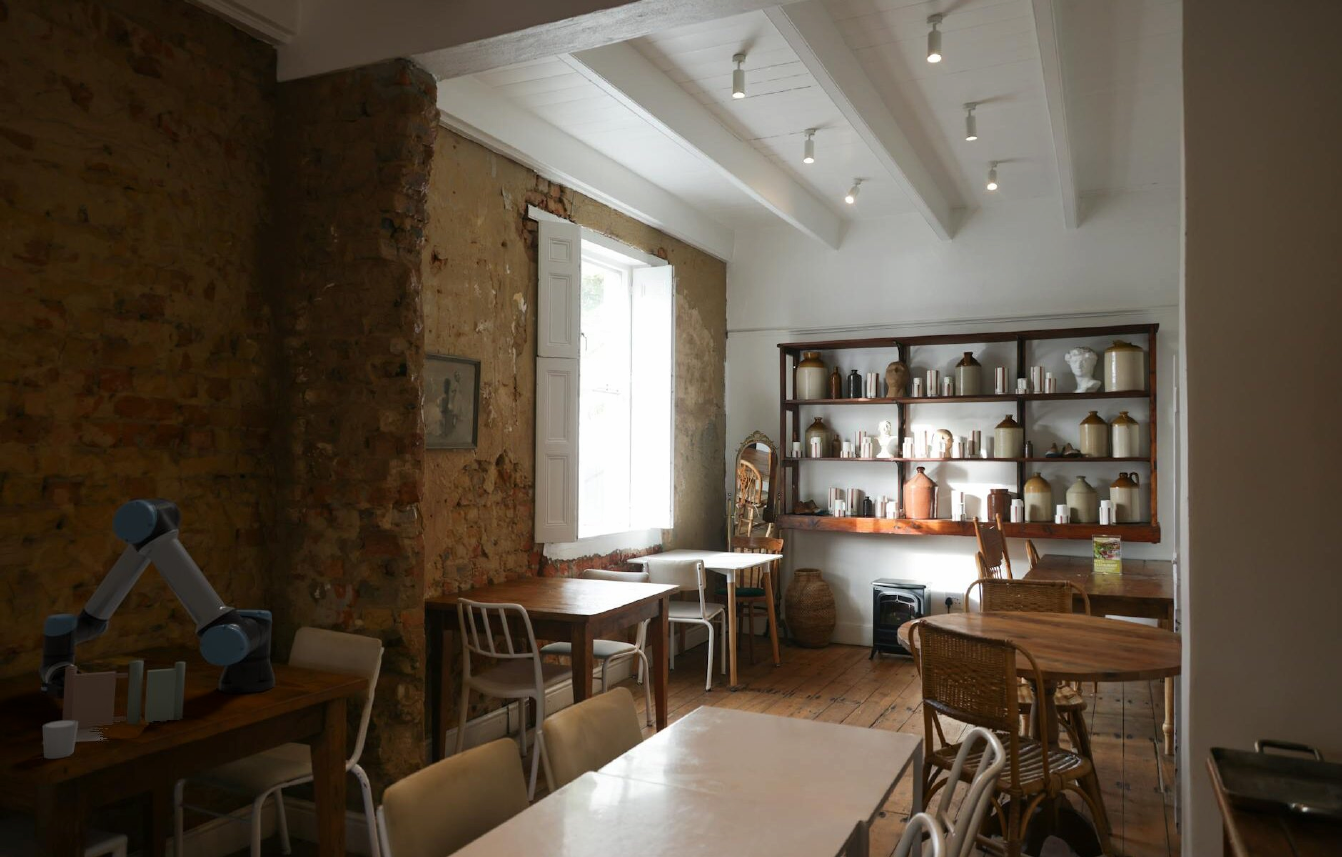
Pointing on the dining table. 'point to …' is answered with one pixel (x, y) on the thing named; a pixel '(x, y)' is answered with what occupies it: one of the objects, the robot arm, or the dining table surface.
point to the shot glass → (59, 738)
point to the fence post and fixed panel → (156, 693)
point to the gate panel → (90, 697)
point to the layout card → (88, 734)
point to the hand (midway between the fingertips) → (82, 698)
